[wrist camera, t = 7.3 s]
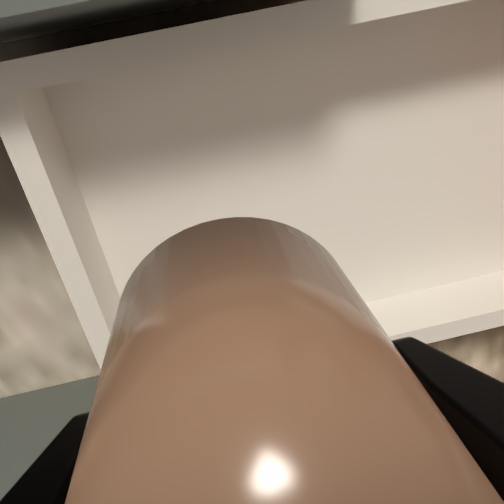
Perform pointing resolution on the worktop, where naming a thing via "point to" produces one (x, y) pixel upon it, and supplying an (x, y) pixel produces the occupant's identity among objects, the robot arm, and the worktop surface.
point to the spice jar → (260, 386)
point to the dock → (82, 392)
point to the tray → (279, 150)
